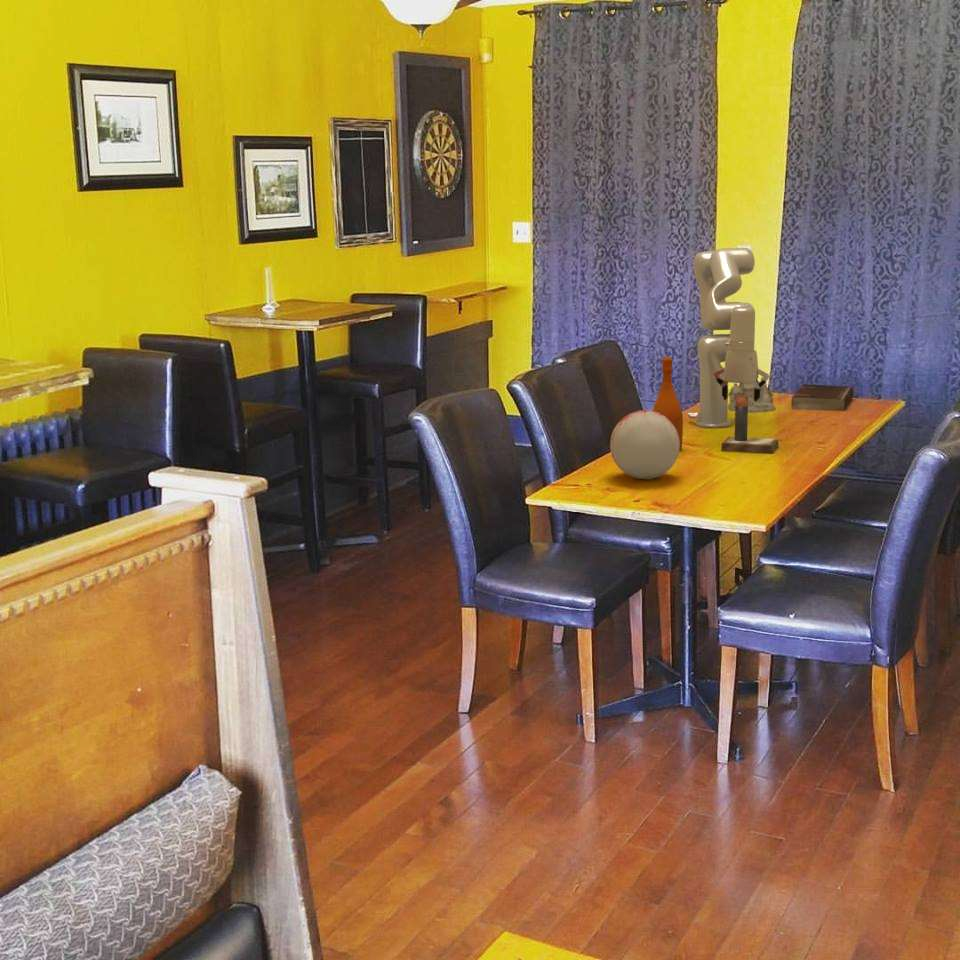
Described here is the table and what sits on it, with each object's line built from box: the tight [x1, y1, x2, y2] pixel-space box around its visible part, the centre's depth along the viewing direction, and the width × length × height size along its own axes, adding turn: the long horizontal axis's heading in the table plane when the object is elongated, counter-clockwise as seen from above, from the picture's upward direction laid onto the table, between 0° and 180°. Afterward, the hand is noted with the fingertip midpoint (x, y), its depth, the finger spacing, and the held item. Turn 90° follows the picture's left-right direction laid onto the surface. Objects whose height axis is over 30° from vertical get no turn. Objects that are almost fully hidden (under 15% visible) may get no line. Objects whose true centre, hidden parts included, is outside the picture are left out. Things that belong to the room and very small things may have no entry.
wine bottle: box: [652, 356, 684, 451], centre depth 390 cm, size 10×10×30 cm
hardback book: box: [791, 383, 854, 412], centre depth 462 cm, size 29×19×5 cm, turn 157°
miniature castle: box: [728, 376, 776, 414], centre depth 455 cm, size 16×16×15 cm
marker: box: [733, 395, 749, 441], centre depth 389 cm, size 4×4×14 cm
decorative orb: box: [609, 409, 681, 480], centre depth 355 cm, size 21×20×20 cm
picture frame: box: [721, 436, 779, 455], centre depth 390 cm, size 16×10×3 cm, turn 66°
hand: (740, 399), depth 389 cm, fingers open, 9 cm apart
